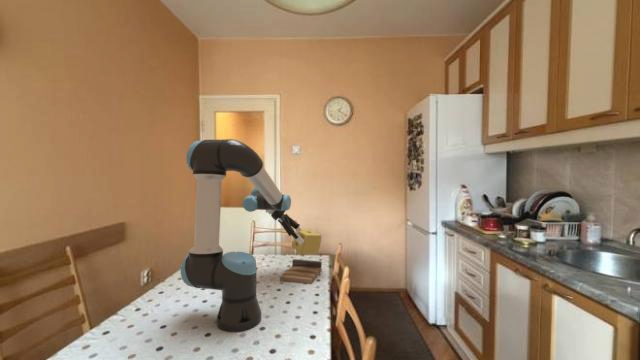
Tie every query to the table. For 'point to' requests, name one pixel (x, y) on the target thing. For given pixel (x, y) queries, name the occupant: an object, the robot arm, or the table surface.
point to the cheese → (307, 242)
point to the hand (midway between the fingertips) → (304, 239)
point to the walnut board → (302, 271)
